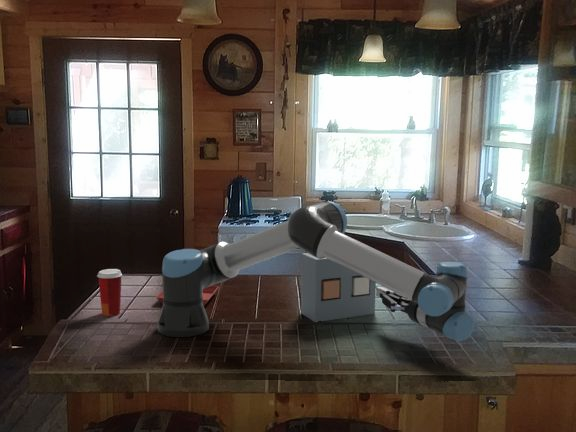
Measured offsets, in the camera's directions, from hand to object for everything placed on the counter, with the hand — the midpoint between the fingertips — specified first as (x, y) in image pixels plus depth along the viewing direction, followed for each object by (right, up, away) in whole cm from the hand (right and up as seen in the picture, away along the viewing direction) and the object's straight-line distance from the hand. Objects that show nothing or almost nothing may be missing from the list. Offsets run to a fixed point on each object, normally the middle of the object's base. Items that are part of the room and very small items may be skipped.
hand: (378, 291), depth 193 cm
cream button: (-5, -2, +11) cm, 12 cm away
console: (-11, -9, +12) cm, 19 cm away
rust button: (-15, -2, +6) cm, 17 cm away
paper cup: (-85, -9, +10) cm, 86 cm away
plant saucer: (-63, -7, +27) cm, 69 cm away
